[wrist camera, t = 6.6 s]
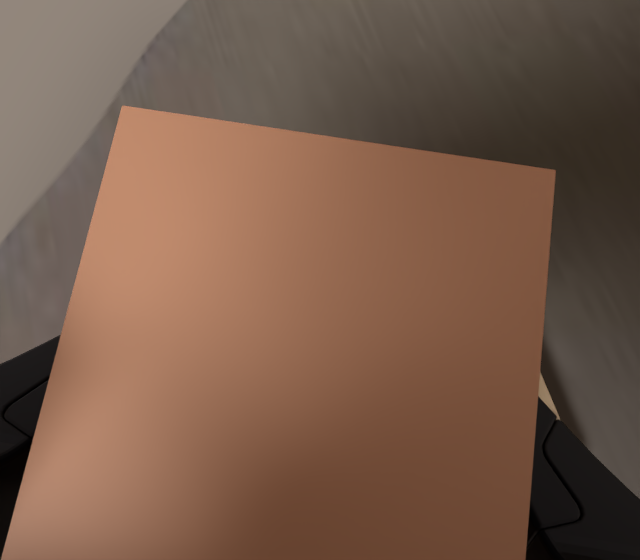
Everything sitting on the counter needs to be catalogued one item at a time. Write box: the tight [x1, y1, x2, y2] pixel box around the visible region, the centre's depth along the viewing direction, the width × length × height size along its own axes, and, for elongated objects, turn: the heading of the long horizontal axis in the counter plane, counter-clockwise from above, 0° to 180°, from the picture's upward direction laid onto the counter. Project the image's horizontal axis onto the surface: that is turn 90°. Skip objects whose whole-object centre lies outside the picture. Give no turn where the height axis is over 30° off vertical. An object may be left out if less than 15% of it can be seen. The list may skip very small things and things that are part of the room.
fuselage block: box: [1, 106, 556, 560], centre depth 10 cm, size 4×4×12 cm
